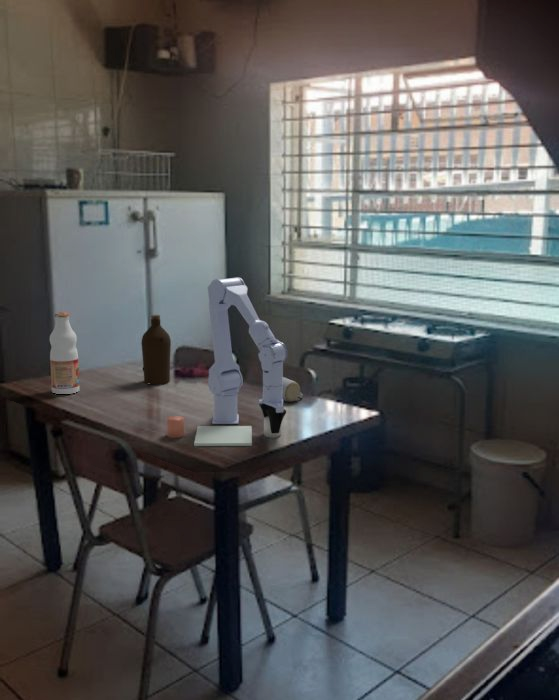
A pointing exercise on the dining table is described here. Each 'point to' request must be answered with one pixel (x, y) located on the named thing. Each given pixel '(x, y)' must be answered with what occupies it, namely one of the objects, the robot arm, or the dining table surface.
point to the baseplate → (223, 436)
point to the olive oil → (156, 353)
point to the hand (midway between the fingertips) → (272, 430)
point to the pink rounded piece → (175, 426)
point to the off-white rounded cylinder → (269, 429)
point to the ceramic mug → (290, 390)
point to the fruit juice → (64, 356)
